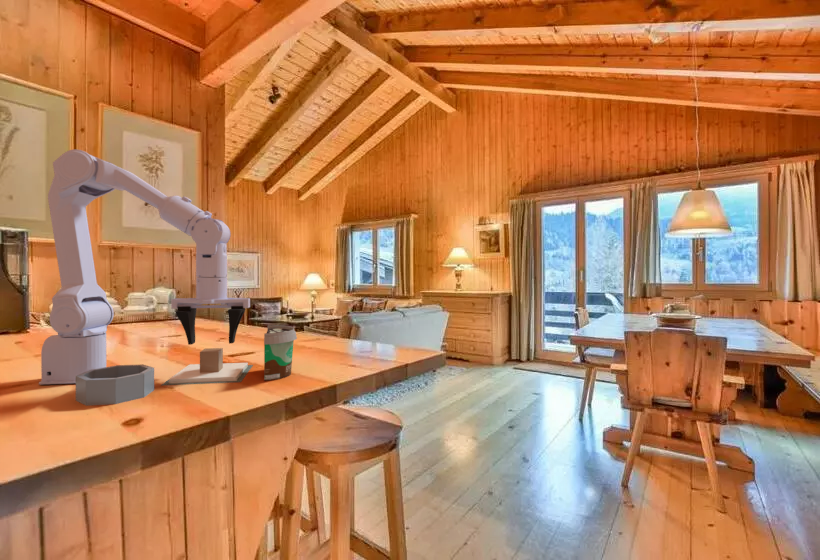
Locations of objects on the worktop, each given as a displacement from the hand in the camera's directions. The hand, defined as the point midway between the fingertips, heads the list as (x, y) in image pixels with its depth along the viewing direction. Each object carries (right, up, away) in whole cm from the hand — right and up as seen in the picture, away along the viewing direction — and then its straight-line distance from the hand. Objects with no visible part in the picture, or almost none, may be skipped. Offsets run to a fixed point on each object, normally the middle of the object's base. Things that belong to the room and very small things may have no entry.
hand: (211, 343), depth 83 cm
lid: (0, -6, 0) cm, 6 cm away
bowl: (-9, -7, -14) cm, 18 cm away
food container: (+14, -7, +1) cm, 16 cm away
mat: (0, -7, 0) cm, 7 cm away
